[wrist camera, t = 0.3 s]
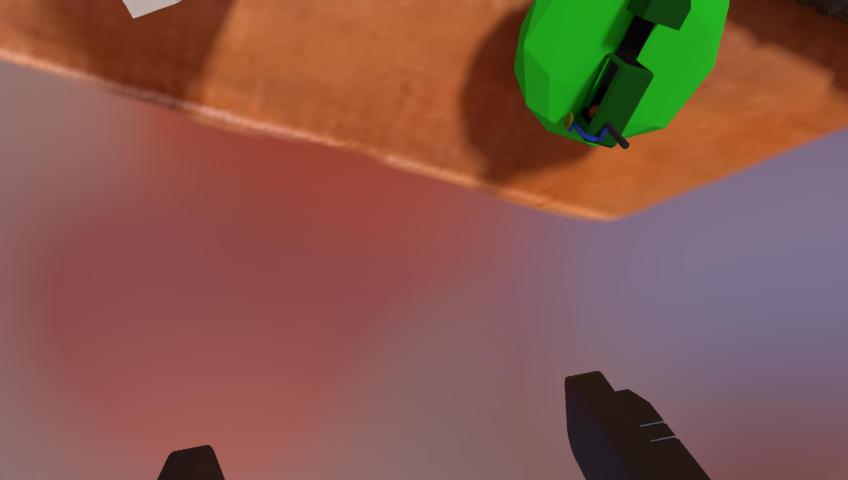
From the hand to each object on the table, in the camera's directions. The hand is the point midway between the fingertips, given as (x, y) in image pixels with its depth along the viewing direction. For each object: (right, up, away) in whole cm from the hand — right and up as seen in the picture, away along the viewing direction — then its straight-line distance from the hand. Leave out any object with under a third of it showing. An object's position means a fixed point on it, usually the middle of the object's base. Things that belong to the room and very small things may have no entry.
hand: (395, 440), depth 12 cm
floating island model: (+12, +19, +22) cm, 31 cm away
